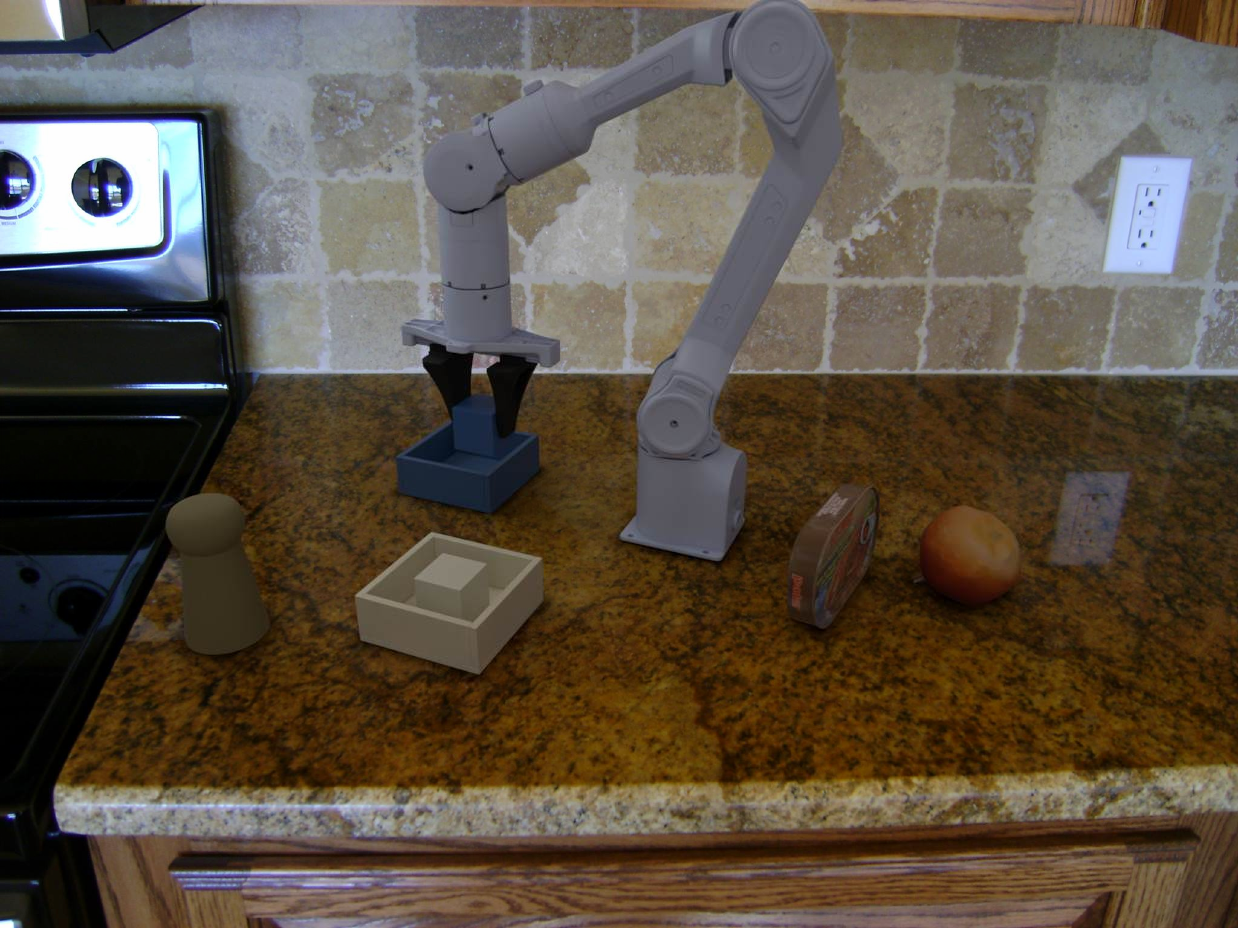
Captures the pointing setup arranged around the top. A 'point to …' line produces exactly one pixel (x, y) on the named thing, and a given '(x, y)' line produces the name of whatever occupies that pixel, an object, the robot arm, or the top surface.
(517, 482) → the blue bin
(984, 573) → the fruit
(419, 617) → the cream bin
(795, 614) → the tin
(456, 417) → the blue block
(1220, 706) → the top surface
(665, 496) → the robot arm
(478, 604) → the cream block
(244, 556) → the cork
